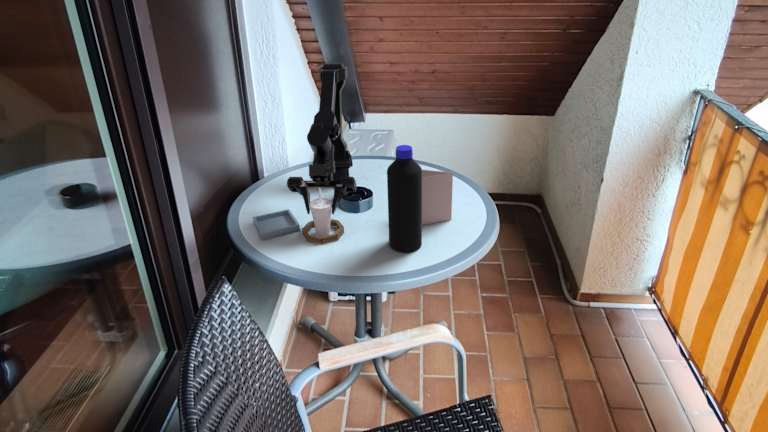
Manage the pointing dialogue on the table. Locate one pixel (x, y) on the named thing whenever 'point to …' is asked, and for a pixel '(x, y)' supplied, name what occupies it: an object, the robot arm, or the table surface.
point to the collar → (325, 238)
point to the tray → (276, 224)
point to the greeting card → (436, 196)
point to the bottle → (404, 201)
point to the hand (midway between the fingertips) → (320, 213)
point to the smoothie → (321, 214)
